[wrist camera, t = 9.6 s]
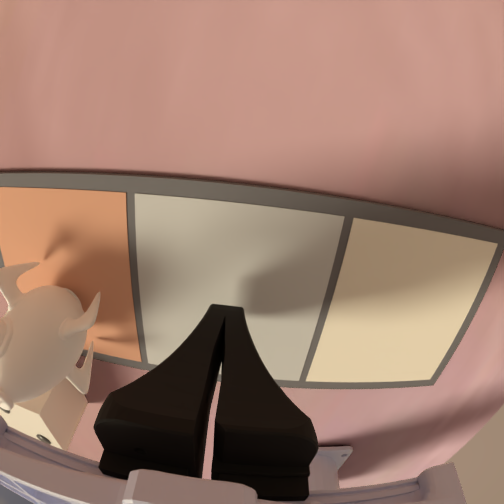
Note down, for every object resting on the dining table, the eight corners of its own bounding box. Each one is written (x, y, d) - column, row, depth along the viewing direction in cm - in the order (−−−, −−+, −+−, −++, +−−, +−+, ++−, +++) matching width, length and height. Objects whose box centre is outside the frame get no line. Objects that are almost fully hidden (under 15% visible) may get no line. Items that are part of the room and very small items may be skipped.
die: (88, 402, 20) (65, 455, 15) (37, 385, 20) (11, 431, 15) (70, 357, 17) (38, 415, 13) (16, 340, 17) (-19, 388, 13)
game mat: (431, 382, 18) (433, 385, 17) (24, 335, 17) (21, 338, 16) (506, 230, 13) (510, 233, 12) (-15, 172, 12) (-20, 174, 12)
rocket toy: (30, 240, 13) (-73, 336, 6) (120, 282, 14) (39, 417, 7) (30, 316, 15) (-39, 410, 8) (106, 354, 16) (54, 469, 9)
